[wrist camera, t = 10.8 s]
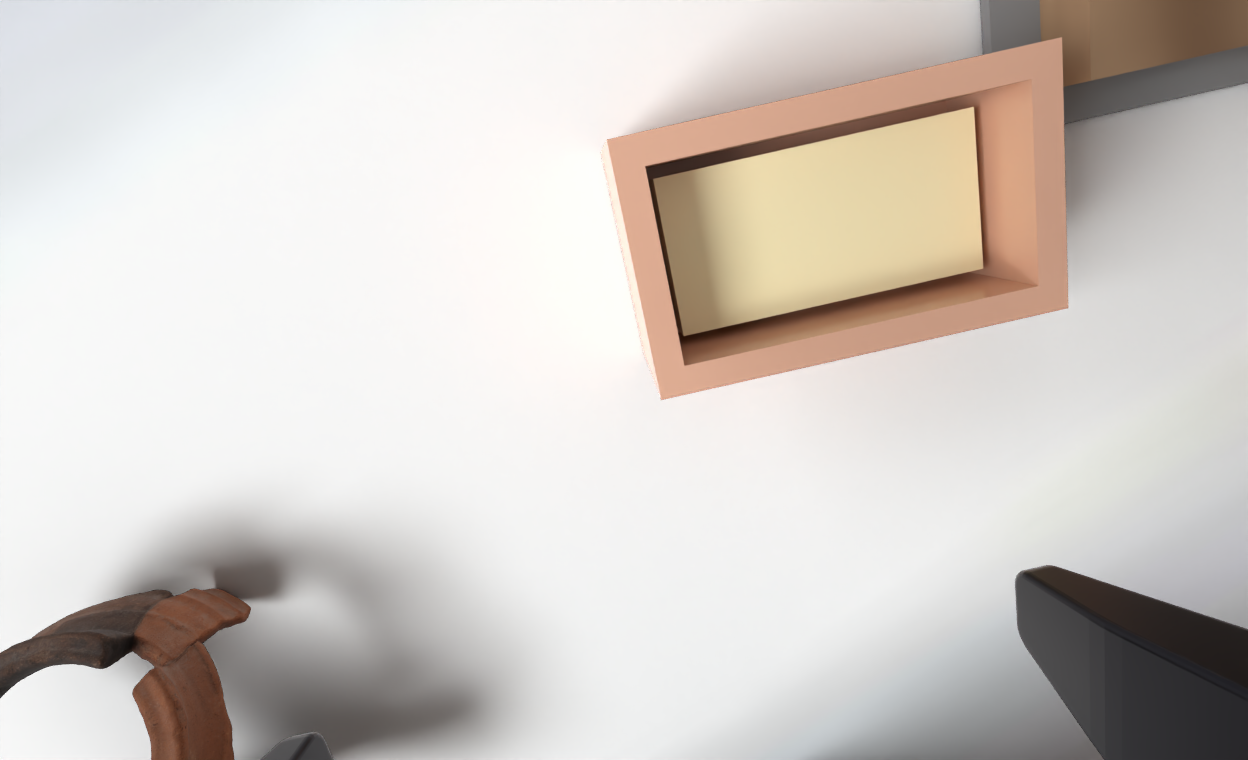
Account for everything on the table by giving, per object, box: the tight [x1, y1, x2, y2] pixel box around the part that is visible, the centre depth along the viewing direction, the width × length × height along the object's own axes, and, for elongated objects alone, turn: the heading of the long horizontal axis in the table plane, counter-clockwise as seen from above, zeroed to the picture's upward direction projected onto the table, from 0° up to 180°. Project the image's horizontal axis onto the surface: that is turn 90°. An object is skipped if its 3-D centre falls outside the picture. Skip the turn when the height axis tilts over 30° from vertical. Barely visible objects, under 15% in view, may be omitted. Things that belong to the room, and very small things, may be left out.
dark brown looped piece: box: [0, 589, 251, 760], centre depth 20 cm, size 12×10×8 cm
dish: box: [601, 37, 1068, 400], centre depth 17 cm, size 6×10×4 cm, turn 102°
